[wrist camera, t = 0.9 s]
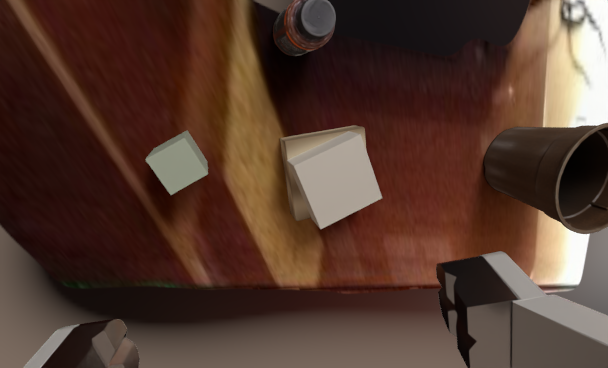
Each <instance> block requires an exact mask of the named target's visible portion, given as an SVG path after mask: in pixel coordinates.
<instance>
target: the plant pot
mask: <svg viewBox="0 0 608 368" xmlns="http://www.w3.org/2000/svg"><path fill="white" fill-rule="evenodd" d="M484 166H485V178H486V180H487V182H488V183H489V184H490V186H491V187H493V188H494V189H495V190H497V191H500V192H502V193H504V194H507V195H509V196H511V197H513V198H515V199H518V200H520V201H522V202H524V203H526V204H528V205H530V206H532V207H535V208H537V209H539V210H541V211H543V212H544V213H545V214H546V215H548V216H549V217H551V218H553V219H555V220H557V221H559V222H561V223H562V224H563V225H564V226H565V227H566V228H568V229H569V230H572V231H574V232H576V233H580V234H590V233H594V232H598V231H600V230H602V229H604V228H606V227H608V123H605V124H601V125H598V126H579V127H576V128H549V127H514V128H511V129H508V130H505V131H503V132H502V133H500V134H499V135H498V136H497V137H496V138H495V139H494V140H493V142H492V143H491V145H490V146H489V148H488V150H487V152H486V155H485V159H484Z"/></svg>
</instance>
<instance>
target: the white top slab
mask: <svg viewBox="0 0 608 368" xmlns="http://www.w3.org/2000/svg"><path fill="white" fill-rule="evenodd" d="M287 162H288V164H289V167H290V169H291V171H292V174H293V176H294V178H295V181H296V183H297V185H298V188H299V190H300V192H301V195H302V197H303V199H304V202H305V204H306V206H307V209H308V211H309V213H310V216H311V218H312V220H313V221H314V222H315V223H316V225H317V226H318V227H319V228H320V229H323V228H325V227H326V226H328V225H330V224H332V223H334V222H336V221H338V220H340V219H342V218H344V217H346V216H348V215H350V214H352V213H354V212H356V211H358V210H360V209H362V208H364V207H366V206H367V205H369V204H371V203H373V202H375V201H377V200H379V199H381V198H382V196H381V193H380V190H379V187H378V184H377V181H376V178H375V175H374V172H373V169H372V166H371V163H370V160H369V157H368V154H367V151H366V148H365V146H364V143H363V140H362V137H361V134H358V133H354V132H351V131H348V132H346V133H344V134H341V135H339V136H337V137H335V138H333V139H331V140H329V141H327V142H324V143H322V144H320V145H318V146H316V147H314V148H312V149H310V150H307V151H305V152H303V153H301V154H299V155H297V156H295V157H293V158H290V159H288V160H287Z"/></svg>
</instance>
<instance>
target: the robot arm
mask: <svg viewBox="0 0 608 368" xmlns="http://www.w3.org/2000/svg"><path fill="white" fill-rule="evenodd" d="M436 274H437V279H438V281H439V283H440V284H441V286H442V288H441V289H440V291H439V292H438V295H439V304H440V308H441V312H442V316H443V318H444V321H445V324H446V326H447V328H448V330H449V332H450V333H451V334H453V335H454V336H456V337H457V345H458V346H457V347H458V350H459V352H460V354H461V356H462V358H463V360H464V362H465V364H466V366H467V367H468V368H608V316H607V315H605V314H602V313H600V312H597V311H595V310H592V309H590V308H587V307H584V306H582V305H580V304H577V303H575V302H572V301H569V300H567V299H564V298H562V297H559V296H557V295H548V296H547V295H546V294H545V293H544V292H543V291H542V290H541V289H540V288H539V287H538V286H537V285H536V284H535V283H534V282H533V281H532V280H531V279H530V278H529V277H528V276H527V275H526V274H525V273H524V272H523V270H522V269H521V268H520V267H519V266H518V265H517V264H516V263H515V262H514V261H513V260H512V259H511V258H510V257H509V256H508V255H507V254H506V253H504V252H502V251H499V252H494V253H489V254H484V255H479V256H478V257H472V258H466V259H461V260H455V261H449V262H444V263H438V264H437V266H436ZM126 334H127V328H126V326H125V325H124V323H123V321H122V320H117V319H112V320H105V321H98V322H91V323H85V324H80V325H73V326H66V327H63V328H61V329H58V330H56V331H55V332H54V333H53V335H52V336H51V337H50V338H49V339H48V340H47V341H46V342H45V344H44V345H43V346H42V347H41V348H40V349H39V350H38V351H37V353H36V354H35V355H34V356H33V357H32V358H31V359H30V361H29V362H28V363H27V364H26V365H25V366H24V367H23V368H138V366H139V353H138V349H137V347H136V345H135V343H134V342H132V341H130V340H129V339H127V338H126Z"/></svg>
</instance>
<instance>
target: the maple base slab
mask: <svg viewBox="0 0 608 368" xmlns="http://www.w3.org/2000/svg"><path fill="white" fill-rule="evenodd" d="M348 131H351V132H354V133H358V134H361V137H362V140H363V143H364V146H365V148H366V141H365V128H363V127H359V126H349V127H343V128H337V129H331V130H326V131H320V132H314V133H308V134H302V135H296V136H290V137H284V138H280V143H281V150H282V157H283V164H284V170H285V177H286V184H287V191H288V198H289V205H290V212H291V214H292V216H293V217H294V219H295V220H296V221H299V220H304V219H308V218H311V216H310V213H309V211H308V209H307V206H306V204H305V202H304V199H303V197H302V195H301V192H300V190H299V188H298V185H297V183H296V181H295V178H294V176H293V174H292V171H291V169H290V167H289V164H288V162H287V160H288V159H290V158H293V157H295V156H297V155H299V154H301V153H303V152H305V151H307V150H310V149H312V148H314V147H316V146H318V145H320V144H322V143H324V142H327V141H329V140H331V139H333V138H335V137H337V136H339V135H341V134H344V133H346V132H348Z"/></svg>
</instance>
